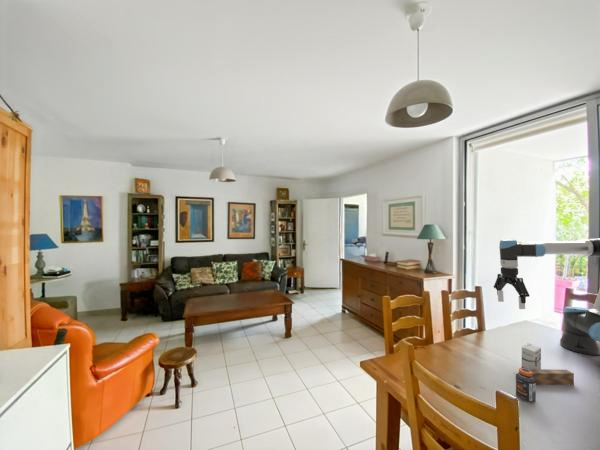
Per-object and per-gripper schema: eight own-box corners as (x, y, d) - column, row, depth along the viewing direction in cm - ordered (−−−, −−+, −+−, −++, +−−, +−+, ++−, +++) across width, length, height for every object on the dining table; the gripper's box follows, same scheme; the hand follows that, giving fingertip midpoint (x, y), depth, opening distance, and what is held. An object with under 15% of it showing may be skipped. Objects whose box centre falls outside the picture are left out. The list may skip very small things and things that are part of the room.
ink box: (534, 377, 113) (534, 351, 113) (521, 371, 117) (520, 346, 118) (541, 371, 118) (541, 346, 118) (528, 366, 122) (527, 342, 122)
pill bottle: (511, 393, 102) (511, 366, 102) (525, 392, 103) (524, 365, 103) (526, 404, 96) (525, 374, 96) (540, 403, 97) (539, 374, 97)
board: (566, 380, 111) (566, 369, 111) (573, 385, 108) (573, 373, 108) (523, 380, 111) (523, 369, 111) (529, 384, 108) (529, 373, 108)
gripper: (485, 264, 151) (487, 299, 151) (523, 271, 126) (525, 312, 126) (497, 263, 152) (499, 298, 151) (537, 270, 127) (539, 312, 126)
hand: (511, 305), depth 139 cm, fingers open, 13 cm apart
